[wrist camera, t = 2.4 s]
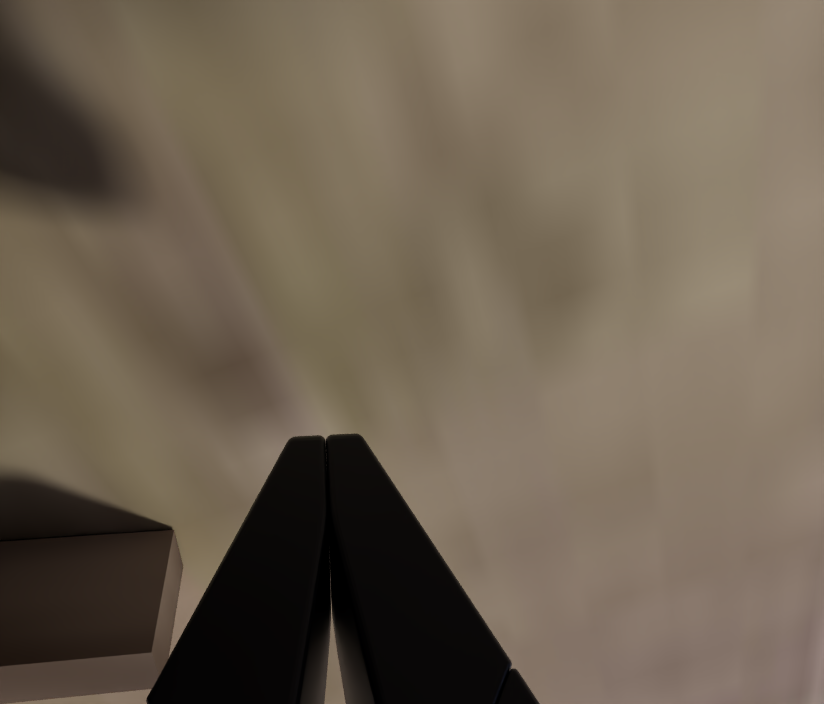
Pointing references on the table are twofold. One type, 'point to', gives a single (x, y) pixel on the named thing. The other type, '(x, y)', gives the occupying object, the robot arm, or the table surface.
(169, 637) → the rail
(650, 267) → the table surface
